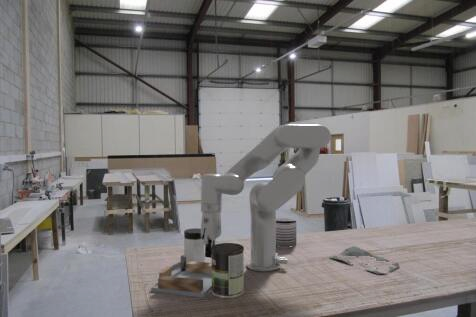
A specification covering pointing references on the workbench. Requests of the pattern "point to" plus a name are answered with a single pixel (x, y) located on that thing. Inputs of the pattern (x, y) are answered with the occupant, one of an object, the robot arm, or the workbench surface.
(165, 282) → the fixed rail
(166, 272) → the jig board
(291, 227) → the can
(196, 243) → the jar
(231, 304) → the workbench surface
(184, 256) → the pivot pin
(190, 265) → the oak leg
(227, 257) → the coffee can
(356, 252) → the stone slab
